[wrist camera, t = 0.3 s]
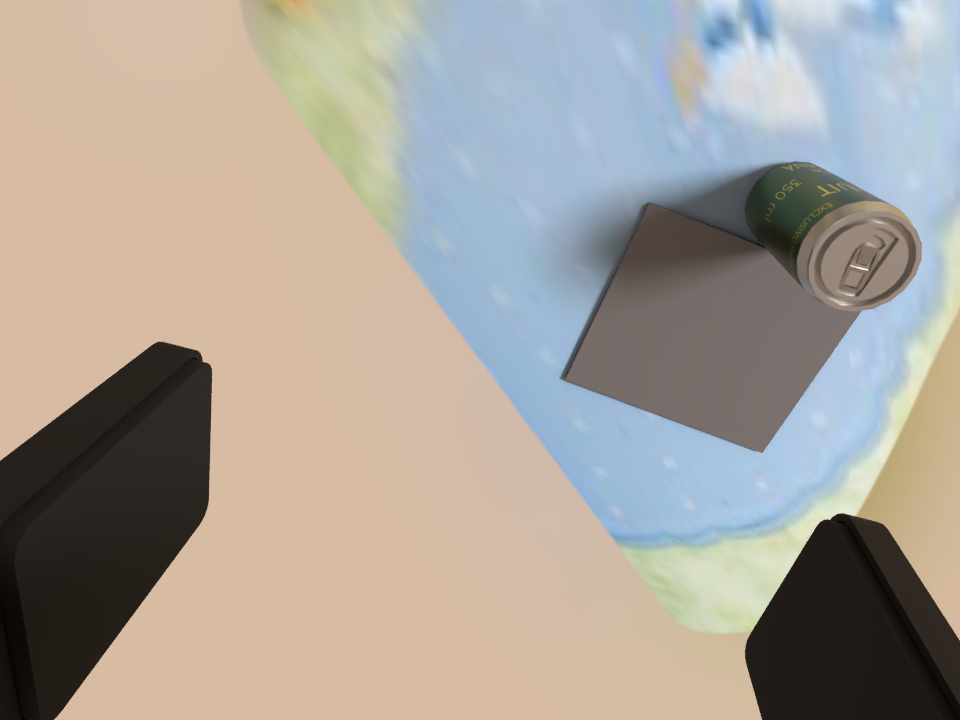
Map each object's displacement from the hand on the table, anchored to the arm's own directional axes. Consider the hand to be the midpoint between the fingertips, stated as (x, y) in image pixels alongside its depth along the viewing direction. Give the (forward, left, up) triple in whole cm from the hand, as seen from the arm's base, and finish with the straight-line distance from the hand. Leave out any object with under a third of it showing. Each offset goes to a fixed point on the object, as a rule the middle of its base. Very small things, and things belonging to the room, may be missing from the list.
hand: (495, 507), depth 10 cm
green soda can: (-2, +15, -36) cm, 39 cm away
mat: (+8, +15, -35) cm, 39 cm away
